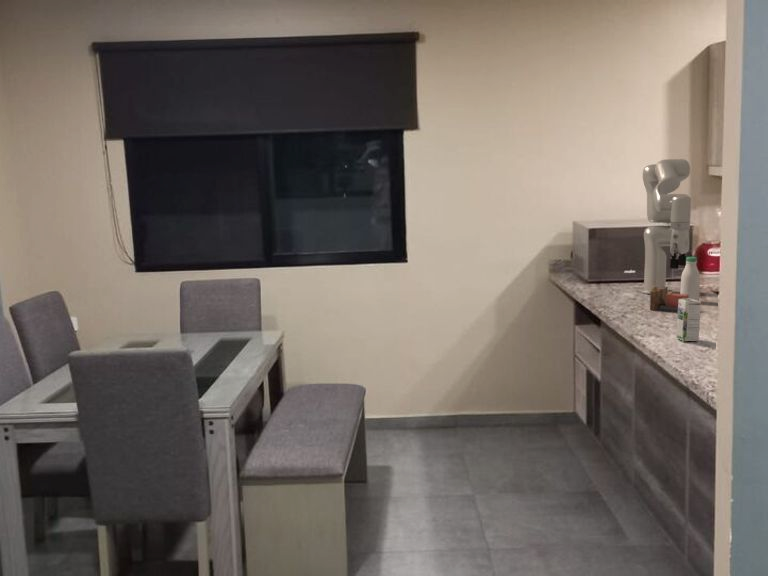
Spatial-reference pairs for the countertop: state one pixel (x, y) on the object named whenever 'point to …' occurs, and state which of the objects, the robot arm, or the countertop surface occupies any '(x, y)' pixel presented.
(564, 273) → the countertop surface
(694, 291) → the milk bottle
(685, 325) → the syrup box
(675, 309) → the tray
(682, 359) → the countertop surface
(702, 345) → the countertop surface
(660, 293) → the door board
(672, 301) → the red block
